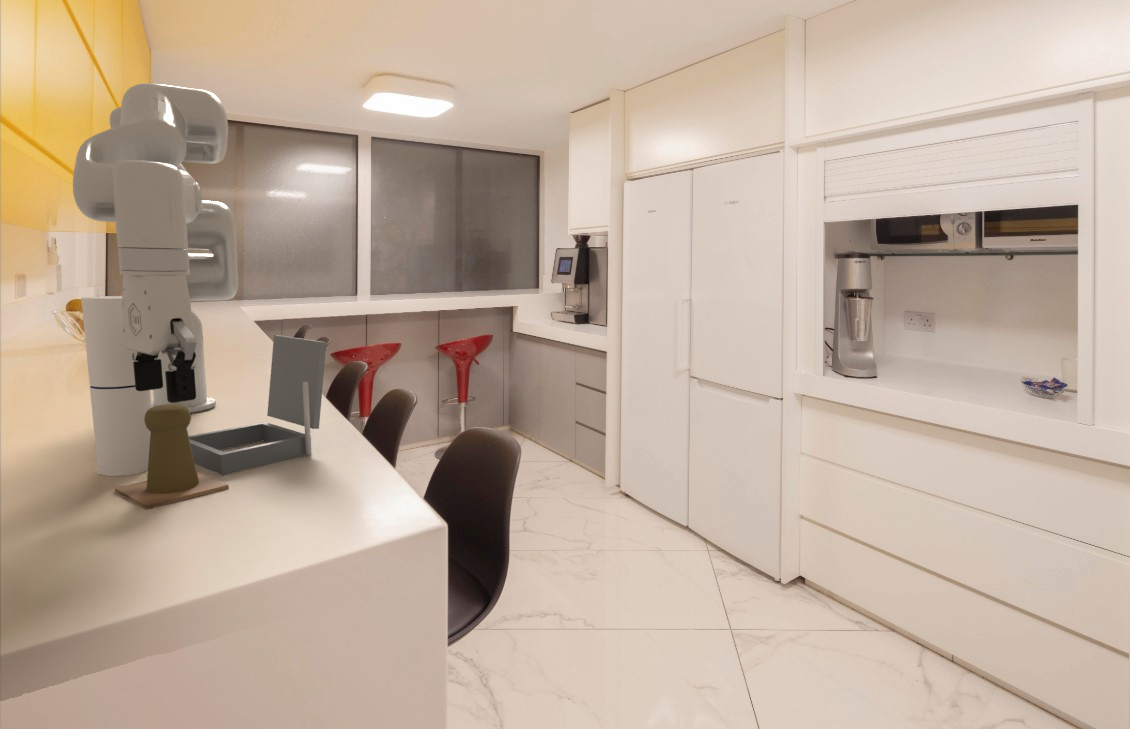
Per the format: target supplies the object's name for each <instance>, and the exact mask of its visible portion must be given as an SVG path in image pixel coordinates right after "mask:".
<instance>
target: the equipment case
mask: <svg viewBox="0 0 1130 729" xmlns="http://www.w3.org/2000/svg"><path fill="white" fill-rule="evenodd" d="M303 402H304V425H305V426H304V433H303V432H301V431H297V430H294V429H289V428H286V427H282V426H280V425H277V424H272V423H269V422H266V421H263V422H262V421H261V422H257V423H253V424H246V425H241V426H236V427H229V428H224V429H219V430H216V431H214V430H213V431H209V432H204V433H197V434H193V435H188V436H189V440H190V445H191V449H192V453H193V458H194V462H195V465H197V466H200V467H201V468H203V469H206V470H209V471H210V472H213V473H215V474H218V475H220V476H225V475H230V474H234V473H238V472H241V471H242V472H243V471H246V470H251V469H254V468H258V467H262V466H267V465H272V464H277V463H279V462H284V461H287V460H293V459H295V458H301V457H304V456H309V455H312V438H311V437H312V436H311V428H310V414H309V390H308V382H303ZM259 442H264V443H262V444H257V443H259ZM254 443H256V444H257V445H253V446H247V447H242V446H245V445H250V444H254ZM237 447H242V448H239V449H233V450H230V451H222V450H226V449H227V450H228V449H231V448H237Z"/></svg>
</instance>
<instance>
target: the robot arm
mask: <svg viewBox="0 0 1130 729" xmlns="http://www.w3.org/2000/svg"><path fill="white" fill-rule="evenodd" d="M109 126H110V128H109V129H106V130H104V131H101V132H99V133H96V134H94V135H92V136H90V137H89V138H88V139H85V141H84V142H83V143H82V144H81V145H80V146H79V147H78V148H79V149H78V151H77V153H76V157H75V163H74V168H73V175H72V176H73V177H72V193H73V194H72V195H73V199H74V201H75V204H76V207H78V208H77V209H78V210H79V211H80V212H81V213H82V214H83V215H84V216H85V217H87V218H89V219H91V220H93V221H97V222H103V223H104V222H105V223H106V222H107V223H115V229H116V230H115V232H116V242H117V247H118V248H117V253H118V263H119V264H118V265H119V275H121V276H122V275H123V278H122V289H121V290H122V293H121V294H122V295H121V296H122V311H123V337H124V344H125V346H126V347H127V348H129V349H131V350H133V352H132V359H133V361H135V362H133V366H134V378H135V389H136V390H137V391H146V390H151V391H152V399H153V400H152V401H151V402H152V407H155V406H158V405H164V404H180V405H184V406H186V407H187V408H188V409H189V411H190V414H192V413H197V412H203V411H207V410H210V409H213V408H215V406H216V404H217V402H216V399H215V398H212V397H208V394H207V393H208V392H207V379H206V363H205V348H204V335H203V324H202V321H201V319H200V317H199V316H198V315H197V313H196V312H194V310H192V307H191V302H195V301H196V302H202V301H203V302H204V301H211V302H212V301H214V302H215V301H228V300H231V299H233V298H234V297H235V296H236V295H237V293H238V290H239V271H238V270H239V269H238V268H239V267H238V247H237V246H238V245H237V232H236V231H237V230H236V222H235V218H234V215H233V213H232V210H231V208H230V207H229V206H227V205H226V204H225V203H223V202H220V201H215V200H214V201H213V200H212V201H211V200H203V194H202V189H201V186H200V184H199V183H198V182H197V181H196V180H195V178H194V177H193V176H192V175H191V174H190V173H189V172H188V171H187V169H186V167H185V166H184V165H183V164H182V163H184V162H185V163H196V164H197V163H198V164H209V165H212V164H213V165H214V164H218V163H221V162H223V160H224V159H225V157H226V154H227V151H228V150H227V149H228V136H229V135H228V134H229V122H228V115H227V112H226V109H225V107H224V105H223V103H222V102H221V100H220V98H218V97H217V95H215V94H214V93H212V92H210V91H209V90H208V91H207V90H204V89H200V88H199V89H198V88H192V87H191V88H190V87H182V86H176V85H175V86H174V85H169V84H168V85H167V84H162V83H151V82H149V83H148V82H147V83H138V84H134V85H133V86H130V87H129V88H128V89H127V90H126V91H125V92H124V94H123V96H122V100H121V106H119V107H116V108H114V109H113V110H112V111H111V113H110V114H109ZM189 250H203V251H205V250H206V251H209V252H210V253H189Z"/></svg>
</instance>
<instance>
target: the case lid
mask: <svg viewBox="0 0 1130 729" xmlns="http://www.w3.org/2000/svg"><path fill="white" fill-rule="evenodd" d="M272 341H273V343H272V352H271V353H272V356H271V367H270V380H269V389H268V390H269V392H268V402H267V404H268V405H267V415H266V416H267V417H271V418H274V419H278V420H282V421H285V422H288V423H290V424H291V423H292V424H295V425H298V426H301V427H305V425H304V402H303V382H308V390H309V414H310V429H311V430H317V429H320V421H321V419H320V418H321V407H322V397H323V388H324V387H323V386H324V374H325V366H326V364H325V363H326V362H325V361H326V351H327V341H321V340H312V339H306V338H300V337H291V336H287V335H286V336H285V335H280V334H279V335H278V334H274V335H273V340H272Z"/></svg>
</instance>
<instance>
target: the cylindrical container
mask: <svg viewBox="0 0 1130 729" xmlns="http://www.w3.org/2000/svg"><path fill="white" fill-rule="evenodd" d="M81 309H82V320H83V330H84V342H85V350H86V351H85V352H86V359H87V372H88V381H89V391H90V394H89V395H90V403H91V404H90V405H91V413H92V423H93V434H94V444H95V445H94V446H95V454H96V455H95V456H96V465H97V466H96V467H97V474H98V473H99V474H98V475H100V474H101V475H100V476H104V475H106V477H120V476H122V475H123V476H129V475H135V474H140V473H144V472H148V461H149V448H150V434H151V432H150V431H149V430H148V428H147V427H146V425H145V420H144V418H145V414H146V412H147V410H148V409H150V408H152V402H153V401H152V392H151V391H152V390H146V391H137V390H136V389H135V378H134V366H133V362H135V361H133V359H132V352H133V350H131V349H129V348H127V347H126V346H125V344H124V337H123V311H122V295H109V296H106V295H105V296H103V295H102V296H83V297H81ZM123 476H122V477H123Z"/></svg>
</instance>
